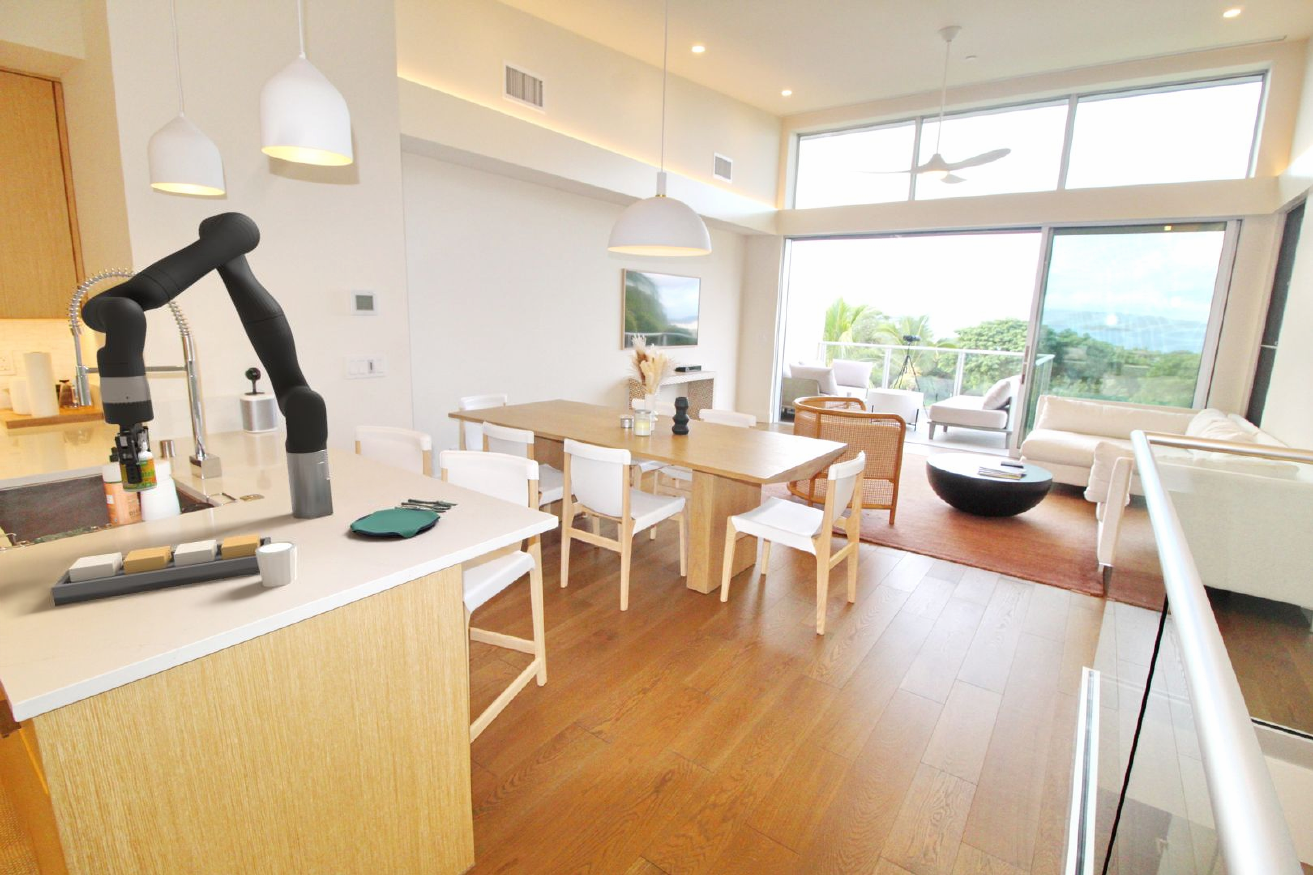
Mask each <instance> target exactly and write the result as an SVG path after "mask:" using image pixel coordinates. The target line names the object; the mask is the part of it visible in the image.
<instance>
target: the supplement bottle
mask: <svg viewBox="0 0 1313 875" xmlns="http://www.w3.org/2000/svg"><path fill="white" fill-rule="evenodd" d="M135 449H137V448H135ZM146 449H147V443H146V442H143V453H142V454H140V461H141V463H140V465H141V472H142V478H143V481H142V482H141V483H138V484H129V483H128V480H127V474H126V468H125V466H124V465H121V464H120V460H119V459H118V466H119V471H120V477H121V483H122V490H123V491H124V492H126V493H135V492H136V493H138V492H139V493H140V492H147V491H151V490H153V489H155V488H156V489H157V487H158V482H157V475H156V466H155V461H154V456H153V453H152V452H147V451H146ZM128 458H132V455H128Z"/></svg>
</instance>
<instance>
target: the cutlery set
mask: <svg viewBox="0 0 1313 875" xmlns="http://www.w3.org/2000/svg"><path fill="white" fill-rule="evenodd" d="M432 504H433V505H432ZM400 505H401V506H411V507H400V506H399V507H398V506H394V508H388V509H382V510H376V511H374V512H373V513H369V514H367V515H365V516H361V517H359V518H357V519H356V520H354V521H353V522H352V523H351V524H350V526H349V527H350V529H351V531H352V532H353V533H360V534H363V535H369V536H377V537H378V536H379V537H380V536H383V537H384V536H385V537H386V536H398V535H399V536H402V537H403V538H405V539H410V538H412V537H414V536H415V535H416V534H417V532H419V531H422V530H426V529H428V528H430V527H432V526H435V525H436V524H437V523H438V522H439V519H441V515H440V514H438V513H446V512H447V511H446V510H449V509H450V508H452V506H454V507H456V506H457V505H458V503H451V502H446V501H443V500H440V501H439V500H436V501H427V500H419V499H414V498H413V499H412V498H408V499H407V502H405V501H403V502H400ZM413 506H415V507H413ZM416 506H418V507H416ZM421 507H422V508H421ZM423 507H424V508H423ZM428 508H429V509H428Z"/></svg>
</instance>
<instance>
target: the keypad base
mask: <svg viewBox="0 0 1313 875" xmlns="http://www.w3.org/2000/svg"><path fill="white" fill-rule="evenodd" d="M270 543H272V537H271V536H268V537H260V547H261V546H263V545H266V544H270ZM222 544H223V543H218V544H217V543H216V545H217V553H216V556H215V558H214V561H210V562H203V563H196V564H190V565H183V566H176V567H175V561H174V553H175V551H176V549H174V550H171V557H172V558H171V559H170V561H169V563H168V565H167V566H166V568H163V569H156V570H150V571H143V572H136V573H130V574H125V572H124V566H123V565H122V566H121V568H120V569H119V570H118V572H117V573H116V574H115V576H110V577H103V578H96V579H89V580H83V581H76V582H71V579H70V574H69V569H68V570H67V571H66V572H65V573H64V574H63V575H62V576H60V578H59V580H57V581H56V582H55V583H54V585H53V586H51V592H52V597H53V603H54V607H61V606H67V605H71V604H72V605H73V604H78V603H80V604H81V603H84V602H91V601H97V600H103V599H110V598H114V597H115V598H117V597H121V596H122V597H123V596H128V595H134V594H140V593H146V592H152V591H159V590H163V589H164V590H165V589H169V588H177V587H182V586H188V585H195V584H201V583H207V582H214V581H219V580H226V579H232V578H238V577H245V576H249V575H250V576H251V575H257V574H260V570H259V565H258V561H257V557H256V555H250V556H243V557H237V558H230V559H223V558H222V551H221V547H222ZM126 557H127V556H122V562H123V561H124V559H125V558H126Z"/></svg>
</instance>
